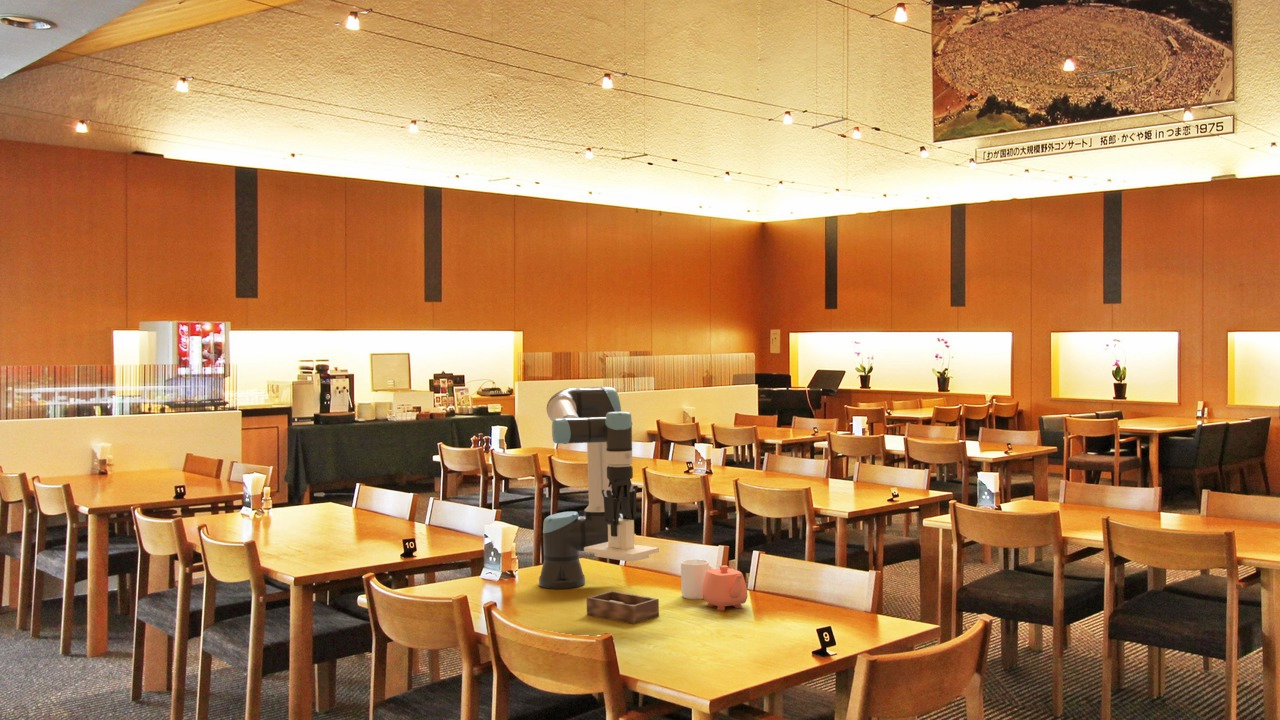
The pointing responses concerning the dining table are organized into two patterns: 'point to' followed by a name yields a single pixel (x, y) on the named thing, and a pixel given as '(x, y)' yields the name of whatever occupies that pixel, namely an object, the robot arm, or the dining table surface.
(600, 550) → the lid
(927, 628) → the dining table surface
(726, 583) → the teapot
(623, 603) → the bento box
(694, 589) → the mug
